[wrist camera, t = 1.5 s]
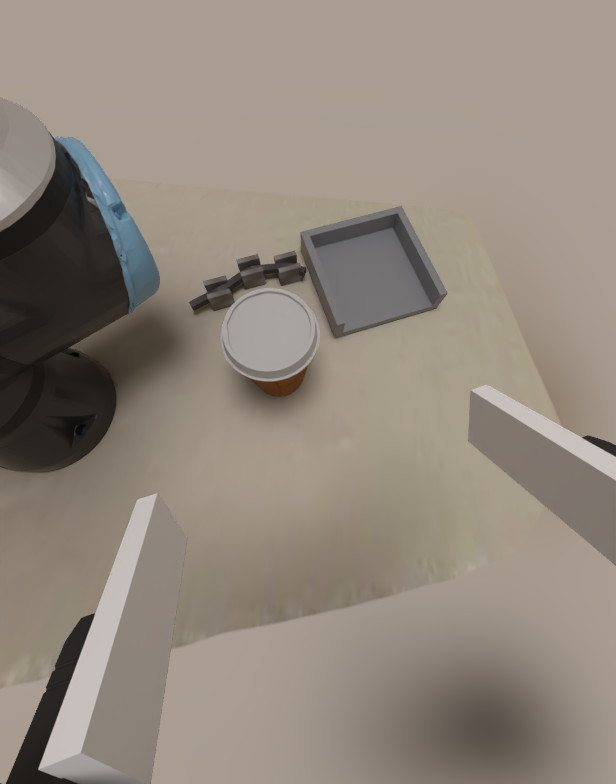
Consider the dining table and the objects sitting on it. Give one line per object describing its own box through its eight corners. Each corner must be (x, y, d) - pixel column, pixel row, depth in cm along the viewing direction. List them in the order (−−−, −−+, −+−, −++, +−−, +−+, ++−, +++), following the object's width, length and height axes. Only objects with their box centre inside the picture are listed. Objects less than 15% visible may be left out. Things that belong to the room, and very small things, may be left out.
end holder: (334, 338, 41) (337, 325, 37) (301, 250, 45) (300, 232, 41) (436, 308, 42) (447, 293, 39) (394, 226, 46) (401, 206, 43)
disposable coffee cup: (259, 331, 41) (241, 271, 29) (326, 352, 40) (334, 300, 29) (231, 394, 38) (199, 356, 27) (301, 419, 37) (299, 391, 26)
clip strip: (195, 316, 41) (188, 304, 39) (188, 287, 43) (180, 274, 40) (308, 284, 43) (308, 271, 40) (298, 258, 44) (298, 243, 42)
